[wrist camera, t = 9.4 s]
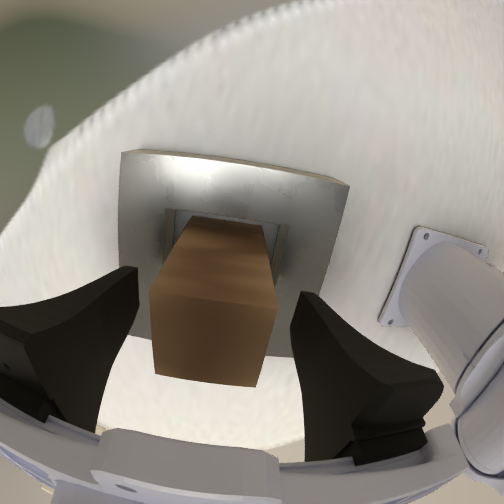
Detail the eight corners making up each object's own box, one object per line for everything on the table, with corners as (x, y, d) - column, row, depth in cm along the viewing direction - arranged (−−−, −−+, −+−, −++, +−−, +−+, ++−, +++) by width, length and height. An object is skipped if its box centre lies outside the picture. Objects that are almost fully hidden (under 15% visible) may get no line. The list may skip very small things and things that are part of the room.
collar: (333, 178, 14) (349, 186, 12) (290, 333, 19) (295, 357, 16) (139, 149, 13) (121, 152, 11) (137, 311, 18) (126, 334, 15)
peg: (262, 225, 16) (278, 308, 8) (250, 285, 17) (255, 387, 10) (192, 215, 15) (149, 290, 8) (187, 276, 17) (155, 374, 9)
